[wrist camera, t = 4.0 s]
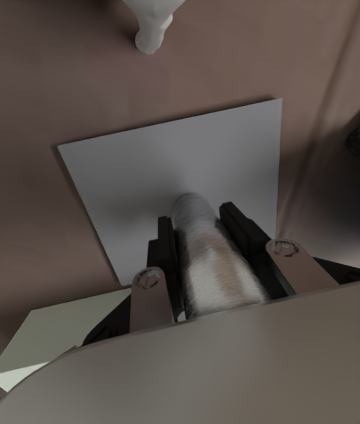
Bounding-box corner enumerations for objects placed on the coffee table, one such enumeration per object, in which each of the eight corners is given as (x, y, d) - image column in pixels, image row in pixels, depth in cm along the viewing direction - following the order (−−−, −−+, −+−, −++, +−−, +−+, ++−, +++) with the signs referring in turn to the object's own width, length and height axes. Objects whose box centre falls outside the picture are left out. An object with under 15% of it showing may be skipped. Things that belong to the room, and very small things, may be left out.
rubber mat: (276, 99, 12) (282, 97, 11) (271, 247, 17) (274, 251, 17) (61, 144, 12) (56, 145, 11) (123, 281, 17) (121, 286, 16)
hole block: (219, 267, 17) (241, 316, 13) (229, 349, 24) (246, 401, 19) (31, 310, 17) (-14, 376, 13) (91, 381, 23) (75, 443, 19)
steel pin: (208, 190, 13) (321, 334, 4) (213, 226, 14) (306, 397, 5) (167, 199, 13) (186, 365, 4) (175, 234, 14) (204, 421, 5)
